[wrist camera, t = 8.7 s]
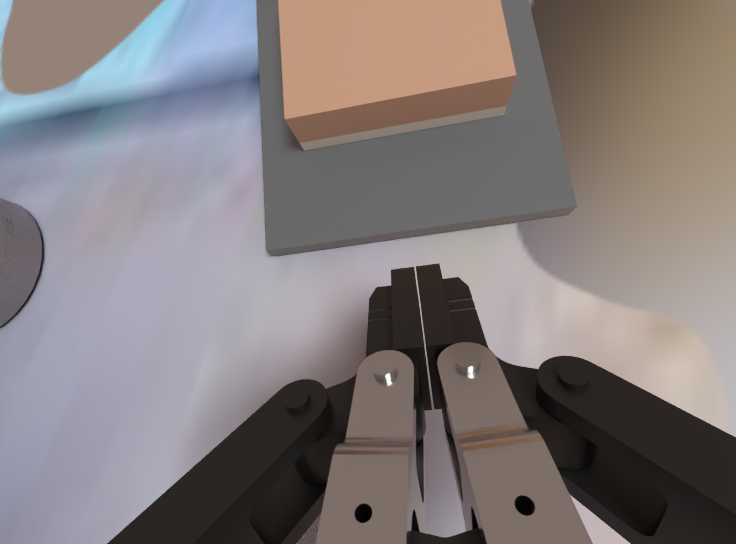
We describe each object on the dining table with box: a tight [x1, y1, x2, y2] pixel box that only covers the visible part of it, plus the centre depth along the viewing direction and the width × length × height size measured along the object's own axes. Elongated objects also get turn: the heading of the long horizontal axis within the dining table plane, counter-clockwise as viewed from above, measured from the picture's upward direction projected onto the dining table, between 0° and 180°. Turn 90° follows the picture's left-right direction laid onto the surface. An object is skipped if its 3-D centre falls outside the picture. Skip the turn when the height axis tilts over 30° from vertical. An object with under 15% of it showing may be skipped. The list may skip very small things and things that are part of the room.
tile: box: [278, 0, 516, 151], centre depth 20 cm, size 11×3×9 cm
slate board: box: [257, 0, 577, 256], centre depth 23 cm, size 16×22×1 cm
